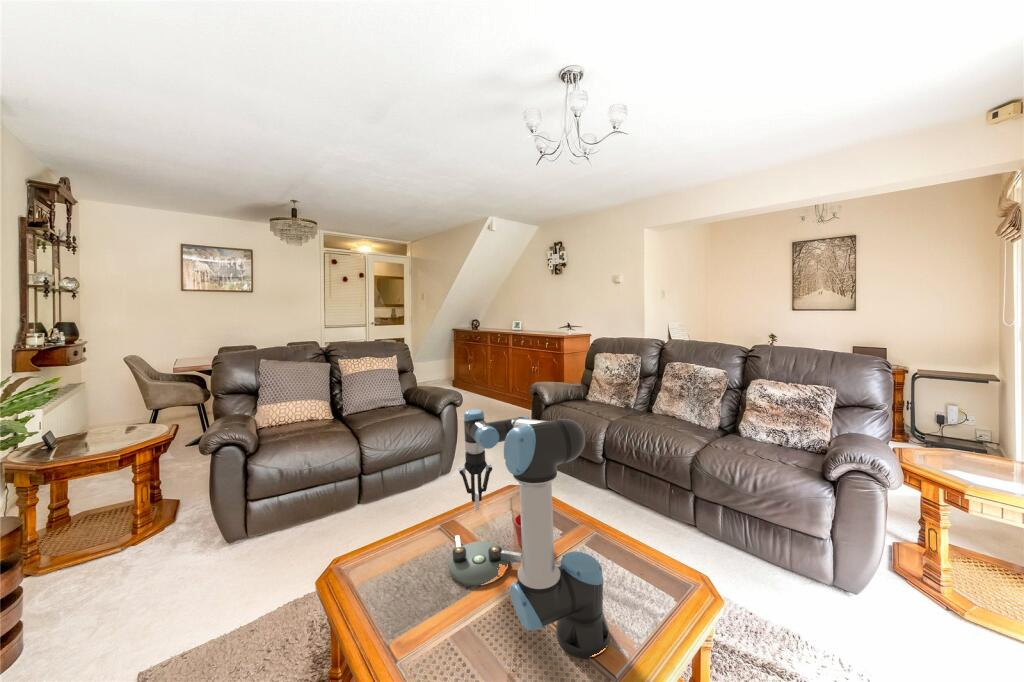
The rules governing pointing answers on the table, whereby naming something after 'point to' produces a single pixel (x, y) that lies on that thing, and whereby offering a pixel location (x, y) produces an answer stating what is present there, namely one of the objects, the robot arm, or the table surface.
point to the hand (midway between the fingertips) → (476, 508)
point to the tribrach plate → (476, 564)
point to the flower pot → (518, 529)
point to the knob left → (459, 551)
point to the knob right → (503, 555)
